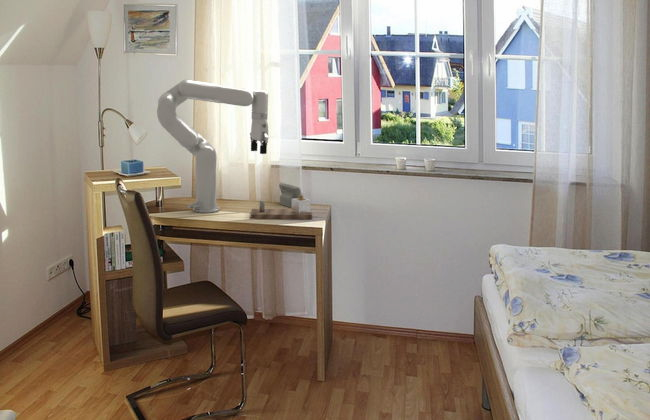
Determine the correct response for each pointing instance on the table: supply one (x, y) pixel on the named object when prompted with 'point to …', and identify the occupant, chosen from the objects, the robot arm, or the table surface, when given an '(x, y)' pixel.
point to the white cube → (301, 206)
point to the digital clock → (288, 193)
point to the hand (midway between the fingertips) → (258, 152)
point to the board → (278, 213)
